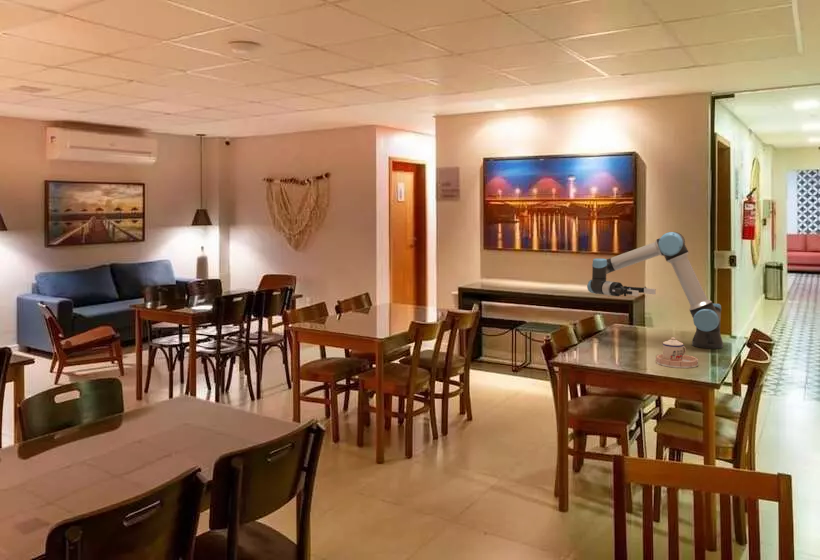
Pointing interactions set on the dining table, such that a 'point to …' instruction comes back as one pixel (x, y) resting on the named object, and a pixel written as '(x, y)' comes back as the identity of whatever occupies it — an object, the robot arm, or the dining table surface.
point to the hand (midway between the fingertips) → (646, 292)
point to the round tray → (686, 362)
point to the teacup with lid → (673, 350)
